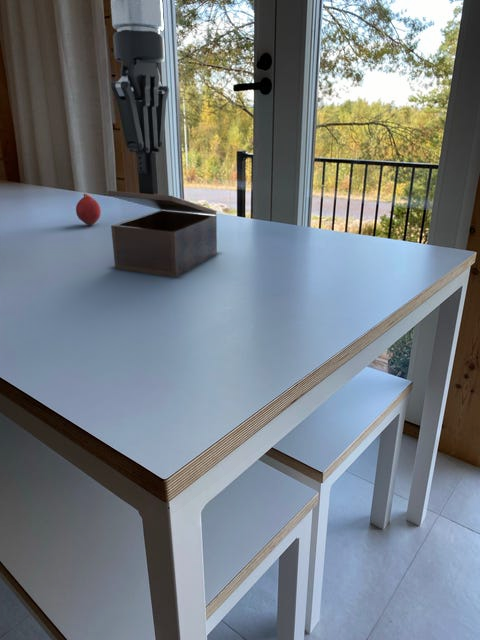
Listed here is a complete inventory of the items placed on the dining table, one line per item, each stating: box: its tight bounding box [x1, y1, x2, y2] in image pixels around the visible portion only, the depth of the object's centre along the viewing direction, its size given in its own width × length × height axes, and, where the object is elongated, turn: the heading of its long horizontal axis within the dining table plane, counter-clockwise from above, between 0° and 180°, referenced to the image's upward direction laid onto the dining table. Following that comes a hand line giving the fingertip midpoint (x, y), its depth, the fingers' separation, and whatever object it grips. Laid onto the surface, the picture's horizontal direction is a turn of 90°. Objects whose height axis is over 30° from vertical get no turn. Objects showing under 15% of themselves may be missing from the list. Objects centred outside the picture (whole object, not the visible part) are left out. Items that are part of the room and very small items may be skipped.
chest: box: [110, 210, 218, 278], centre depth 89 cm, size 17×13×8 cm
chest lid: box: [106, 190, 217, 216], centre depth 86 cm, size 18×13×1 cm
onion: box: [75, 192, 102, 227], centre depth 117 cm, size 6×6×8 cm
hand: (148, 193), depth 80 cm, fingers closed
